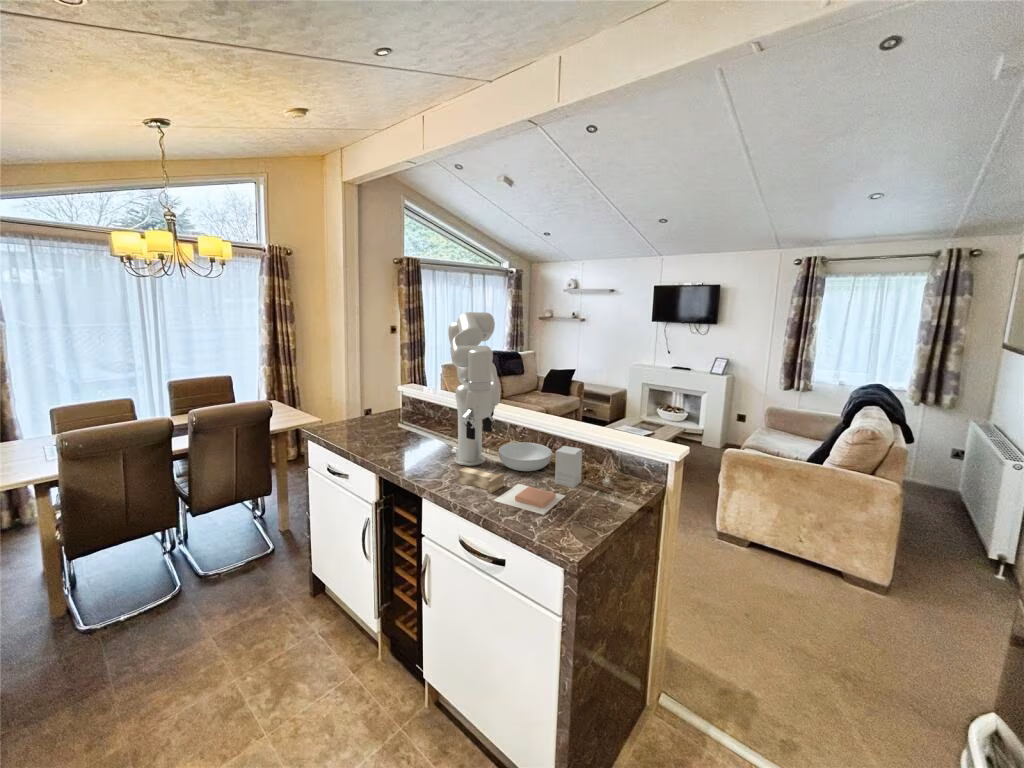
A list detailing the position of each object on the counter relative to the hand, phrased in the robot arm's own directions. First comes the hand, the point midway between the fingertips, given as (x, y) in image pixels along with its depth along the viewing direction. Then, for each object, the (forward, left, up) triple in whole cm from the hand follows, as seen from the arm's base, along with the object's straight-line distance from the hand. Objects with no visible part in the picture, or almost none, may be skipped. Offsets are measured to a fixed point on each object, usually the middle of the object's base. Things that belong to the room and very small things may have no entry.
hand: (479, 434), depth 150 cm
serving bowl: (+5, +24, -19) cm, 31 cm away
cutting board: (+21, -1, -18) cm, 27 cm away
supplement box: (+26, +18, -19) cm, 37 cm away
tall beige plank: (0, -1, -18) cm, 18 cm away
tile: (+18, -1, -17) cm, 24 cm away
